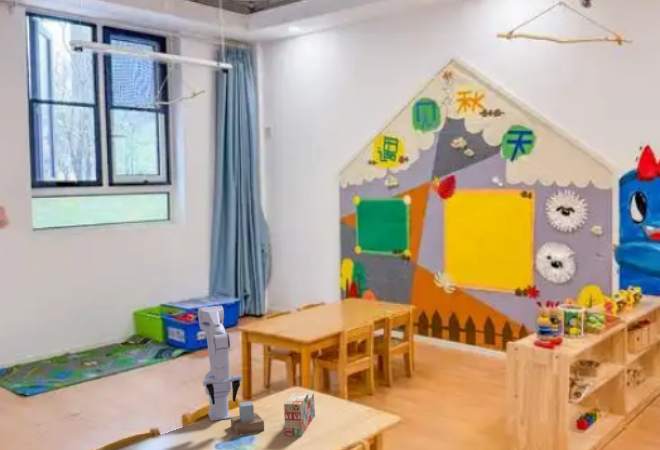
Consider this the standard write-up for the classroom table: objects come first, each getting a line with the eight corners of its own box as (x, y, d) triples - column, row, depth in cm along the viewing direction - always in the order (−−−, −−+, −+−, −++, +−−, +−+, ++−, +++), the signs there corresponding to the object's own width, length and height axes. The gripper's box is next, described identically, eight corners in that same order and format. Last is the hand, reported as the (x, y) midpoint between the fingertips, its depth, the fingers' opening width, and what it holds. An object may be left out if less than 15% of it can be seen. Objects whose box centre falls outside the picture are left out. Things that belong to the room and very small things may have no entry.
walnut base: (231, 427, 255) (230, 417, 255) (256, 422, 259) (256, 412, 259) (238, 436, 246) (237, 426, 246) (264, 431, 250) (263, 421, 250)
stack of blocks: (299, 415, 265) (298, 384, 264) (315, 415, 264) (313, 385, 263) (285, 436, 244) (283, 403, 243) (301, 437, 243) (300, 403, 242)
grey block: (239, 418, 254) (239, 402, 253) (251, 416, 255) (251, 401, 254) (241, 422, 249) (241, 406, 249) (254, 420, 251) (253, 405, 250)
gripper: (203, 371, 245) (205, 408, 246) (243, 366, 249) (245, 402, 250) (201, 366, 252) (203, 402, 253) (239, 362, 256) (241, 397, 257)
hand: (223, 402), depth 252 cm, fingers open, 7 cm apart
